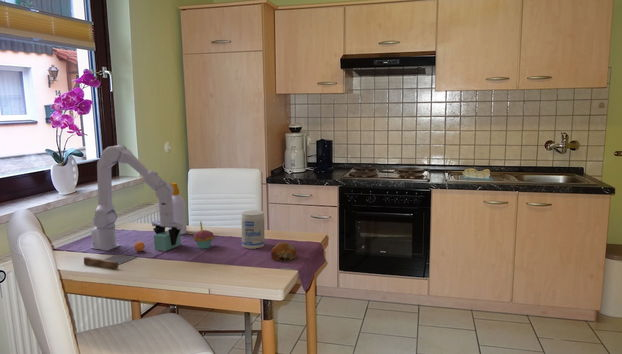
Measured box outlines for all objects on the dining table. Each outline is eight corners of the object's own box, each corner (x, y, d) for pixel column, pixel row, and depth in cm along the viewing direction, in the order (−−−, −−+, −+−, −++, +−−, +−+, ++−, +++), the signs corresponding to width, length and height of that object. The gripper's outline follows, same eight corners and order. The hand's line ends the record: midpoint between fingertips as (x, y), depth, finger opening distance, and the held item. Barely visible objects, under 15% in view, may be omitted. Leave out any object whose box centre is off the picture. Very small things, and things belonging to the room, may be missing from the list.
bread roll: (298, 265, 186) (301, 245, 188) (289, 262, 177) (292, 241, 179) (275, 263, 189) (278, 243, 192) (265, 259, 180) (268, 239, 182)
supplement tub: (245, 250, 194) (244, 215, 192) (239, 244, 203) (238, 211, 201) (267, 247, 198) (267, 213, 196) (261, 241, 206) (260, 209, 204)
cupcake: (209, 250, 195) (207, 222, 193) (190, 249, 196) (188, 221, 195) (217, 244, 203) (216, 217, 201) (198, 243, 205) (197, 216, 203)
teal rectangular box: (154, 249, 197) (154, 235, 196) (170, 243, 205) (169, 229, 205) (165, 251, 194) (164, 236, 193) (180, 244, 203) (180, 230, 202)
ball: (132, 252, 194) (132, 242, 193) (139, 249, 197) (139, 240, 197) (140, 253, 192) (139, 243, 191) (147, 250, 196) (146, 241, 195)
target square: (97, 262, 181) (97, 261, 181) (117, 254, 190) (117, 254, 190) (117, 265, 177) (117, 264, 177) (136, 257, 186) (136, 257, 186)
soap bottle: (171, 230, 228) (168, 181, 224) (189, 230, 226) (187, 181, 223) (163, 235, 219) (160, 184, 216) (182, 235, 218) (179, 184, 214)
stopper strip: (84, 264, 179) (83, 257, 179) (86, 263, 180) (86, 256, 180) (115, 269, 173) (115, 262, 172) (118, 268, 174) (117, 261, 173)
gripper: (186, 212, 198) (187, 243, 200) (159, 209, 204) (160, 239, 206) (175, 215, 192) (176, 247, 194) (147, 212, 198) (149, 243, 200)
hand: (167, 243), depth 200 cm, fingers closed on teal rectangular box, 6 cm apart
